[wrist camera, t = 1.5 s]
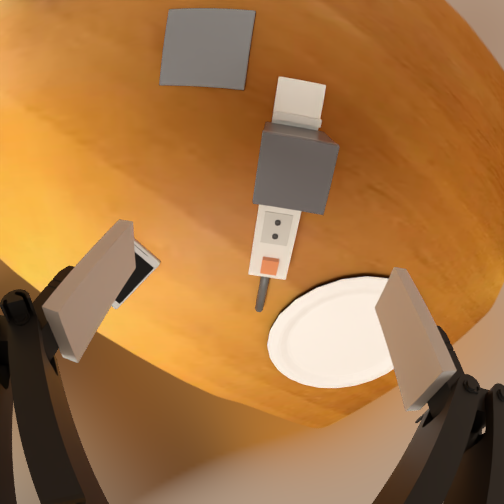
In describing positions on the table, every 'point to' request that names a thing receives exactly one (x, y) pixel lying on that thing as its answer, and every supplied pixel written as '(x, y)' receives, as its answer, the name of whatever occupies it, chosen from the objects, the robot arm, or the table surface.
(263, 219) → the power strip
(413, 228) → the table surface
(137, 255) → the smartphone
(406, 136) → the table surface
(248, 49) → the mat
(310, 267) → the table surface
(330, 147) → the grey block
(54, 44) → the table surface
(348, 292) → the plate
